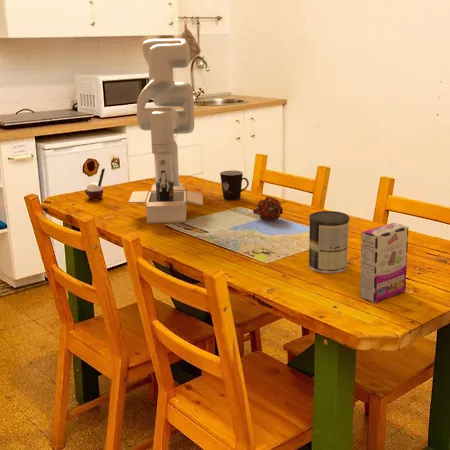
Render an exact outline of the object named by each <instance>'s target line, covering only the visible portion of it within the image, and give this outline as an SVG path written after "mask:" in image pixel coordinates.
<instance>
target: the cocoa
mask: <svg viewBox="0 0 450 450" xmlns="http://www.w3.org/2000/svg"><path fill="white" fill-rule="evenodd" d="M105 169H106V168H102V169H101V171H100V175H99V180H98V182H94V181H93V182H91V183H89V184H87V186H86V189H85V190H84V193H85V195H87V197H88V199H90V200H91V199H98V200H100V199H102V197H103V195H104V187H103V186H102V183H103V178H104V175H105ZM99 198H100V199H99Z"/></svg>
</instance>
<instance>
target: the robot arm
mask: <svg viewBox="0 0 450 450" xmlns="http://www.w3.org/2000/svg"><path fill="white" fill-rule="evenodd" d="M141 47H142V48H141V49H142V53H143V57H144V59H145V61H146V63H147V65H148V83H147V84H146V85H145V86H144V87H143V89H141V91H140V93H139V95H138V96H137V101H136V124H137V127H138V128H139V129H140V130H142V131H150V137H151V139H150V140H151V141H150V142H151V153H152V154H154V155H153V156H154V175H155V183H153V184H152V186H151V188H152V187H156V182H157V181H158V183H160V202H170V197H169V191H168V182H170V183H172V182H173V186H184V185H183V183H181V182H180V179H179V177H180V176H179V154H178V150H179V149H178V144H177V141H176V140H175V135H179V134H180V135H184V134H186V135H187V134H191V133H193V131H194V130H195V106H194V105H195V104H194V103H195V101H194V91H193V90H194V89H193V87H192V85H191V84H190V83H189V82H186V81H178V82H177V81H174V69H185V68H188V66H189V65H190V62H191V61H190V59H191V55H190V54H191V52H190V45H189V42H188V41H187V39H185V38H152V39H147V40H145V41H143V43H142V45H141ZM150 100H152V101H153V103H154V105H155V106H156V107H152V108H151V107H147V108H146V105H147V103H148V102H149V101H150ZM175 108H182V109H175ZM165 174H166V176H165ZM159 179H160V180H159ZM165 181H167V182H165ZM165 184H167V186H166V185H165Z"/></svg>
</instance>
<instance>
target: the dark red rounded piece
mask: <svg viewBox="0 0 450 450" xmlns="http://www.w3.org/2000/svg"><path fill="white" fill-rule="evenodd" d="M254 208H255V209H252V212H253V214H254V215H255V214H256V215H259V219H260V220H262V221H266V220H267V221H268V222H274V221H275V220H278V219H279V218H280V216H281V215H282V214H284V210H283V209H284V208H283V206H282V204H281V202H280V201H279V200H278V199H277V198H275V197H271V196H266V197H265V198H264V199H260V200H259V201H258V202H257V204H256V205H255V206H254Z"/></svg>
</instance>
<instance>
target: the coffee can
mask: <svg viewBox="0 0 450 450" xmlns="http://www.w3.org/2000/svg"><path fill="white" fill-rule="evenodd" d="M308 217H309V232H308V233H309V234H308V235H309V236H308V238H309V242H308V243H309V245H308V249H309V250H308V268H309V269H310V270H311V271H313V272H316V273H320V274H337V273H338V274H339V273H342V272H344V271H346V270H347V269H348V250H349V246H348V245H349V224H350V223H349V221H350V215H349V214H347V213H346V212H345V213H344V212H342V211H334V210H333V211H332V210H321V211H316V212H312V213H311V214H309V216H308Z"/></svg>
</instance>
